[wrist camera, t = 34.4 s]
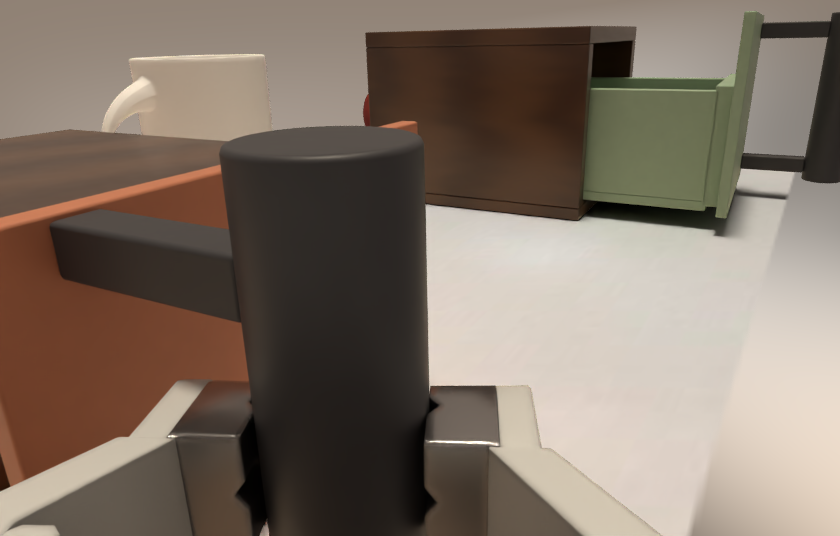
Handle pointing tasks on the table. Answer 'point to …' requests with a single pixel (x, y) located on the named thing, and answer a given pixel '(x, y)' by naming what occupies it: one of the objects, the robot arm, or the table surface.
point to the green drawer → (702, 129)
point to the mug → (196, 97)
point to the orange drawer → (238, 319)
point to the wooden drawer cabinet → (498, 109)
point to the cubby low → (89, 170)
